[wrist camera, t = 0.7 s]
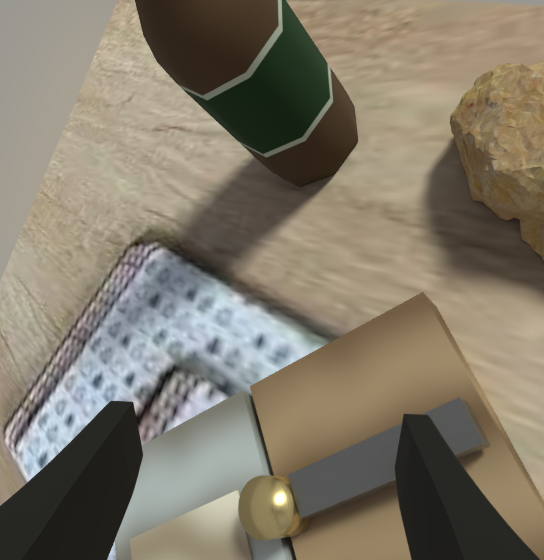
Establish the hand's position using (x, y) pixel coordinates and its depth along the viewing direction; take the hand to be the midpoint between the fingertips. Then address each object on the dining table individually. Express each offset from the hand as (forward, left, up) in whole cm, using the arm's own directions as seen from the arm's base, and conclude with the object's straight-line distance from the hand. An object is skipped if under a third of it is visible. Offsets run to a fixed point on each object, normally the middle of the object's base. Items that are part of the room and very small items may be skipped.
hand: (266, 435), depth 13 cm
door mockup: (0, +7, -15) cm, 17 cm away
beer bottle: (+23, -2, -15) cm, 28 cm away
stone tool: (+11, -12, -15) cm, 22 cm away
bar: (0, +2, -12) cm, 13 cm away
